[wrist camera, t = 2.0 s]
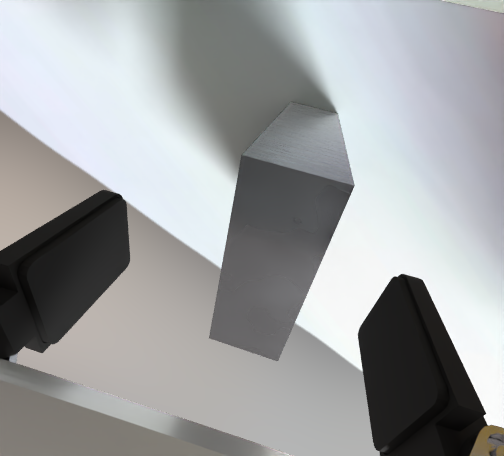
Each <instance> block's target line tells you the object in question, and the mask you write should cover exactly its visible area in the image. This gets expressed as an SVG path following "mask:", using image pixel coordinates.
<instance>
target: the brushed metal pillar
mask: <svg viewBox="0 0 504 456" xmlns="http://www.w3.org/2000/svg"><path fill="white" fill-rule="evenodd" d="M353 188H354V181H353V177H352V173H351V168H350V164H349V160H348V155H347V151H346V147H345V142H344V138H343V134H342V129H341V125H340V120H339V116H338V114H337V113H333V112H329V111H325V110H321V109H317V108H313V107H309V106H305V105H301V104H297V103H293V102H290V103H289V105H288V106H287V107H286V108H285V109H284V110H283V111H282V112H281V113H280V114H279V115H278V116H277V118H276V119H275V120H274V121H273V122H272V123H271V124H270V125H269V126H268V127H267V128H266V129H265V130H264V132H263V133H262V134H261V135H260V136H259V137H258V138H257V139H256V140H255V141H254V142H253V143H252V144H251V146H250V147H249V148H248V149H247V150H246V151H245V152H244V153H243V154H242V157H241V162H240V168H239V173H238V179H237V185H236V190H235V196H234V201H233V207H232V213H231V218H230V224H229V229H228V235H227V241H226V246H225V252H224V257H223V263H222V269H221V274H220V280H219V285H218V291H217V297H216V302H215V308H214V313H213V319H212V325H211V330H210V336H209V338H211V339H214V340H217V341H219V342H222V343H225V344H228V345H231V346H234V347H237V348H240V349H243V350H246V351H249V352H252V353H255V354H258V355H261V356H264V357H267V358H269V359H272V360H276V361H278V360H279V357H280V355H281V353H282V351H283V348H284V346H285V344H286V341H287V339H288V337H289V335H290V332H291V330H292V328H293V325H294V323H295V321H296V319H297V316H298V314H299V312H300V309H301V307H302V305H303V302H304V300H305V298H306V296H307V293H308V291H309V289H310V286H311V284H312V282H313V280H314V277H315V275H316V273H317V270H318V268H319V266H320V264H321V261H322V259H323V257H324V254H325V252H326V250H327V247H328V245H329V243H330V241H331V238H332V236H333V234H334V231H335V229H336V227H337V225H338V222H339V220H340V218H341V215H342V213H343V211H344V209H345V206H346V204H347V202H348V199H349V197H350V195H351V192H352V190H353Z"/></svg>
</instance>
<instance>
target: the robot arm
mask: <svg viewBox="0 0 504 456" xmlns="http://www.w3.org/2000/svg"><path fill="white" fill-rule="evenodd" d="M129 262H130V251H129V235H128V221H127V205H126V201H125V200H123V198H122V196H121V195H120V194H117V193H114V192H110V191H106V190H102V191H99V192H98V193H96V194H94V195H93V196H91V197H89V198H88V199H86V200H84V201H83V202H81V203H79V204H78V205H76V206H75V207H73V208H71V209H69V210H68V211H66V212H64V213H63V214H61V215H60V216H58V217H56V218H54V219H53V220H51V221H49V222H48V223H46V224H44V225H43V226H41V227H39V228H38V229H36V230H35V231H33V232H31V233H29V234H28V235H26V236H24V237H23V238H21V239H19V240H18V241H17V242H14V243H13V244H11V245H10V246H8V247H6V248H5V249H3V250H1V251H0V456H292V455H290V454H287V453H284V452H281V451H278V450H275V449H272V448H269V447H266V446H264V445H261V444H258V443H255V442H252V441H249V440H246V439H243V438H240V437H237V436H234V435H231V434H228V433H225V432H222V431H219V430H216V429H213V428H210V427H207V426H204V425H201V424H198V423H195V422H192V421H189V420H186V419H183V418H180V417H177V416H174V415H171V414H168V413H165V412H162V411H159V410H156V409H153V408H150V407H147V406H144V405H141V404H138V403H135V402H132V401H129V400H126V399H124V398H120V397H117V396H114V395H111V394H108V393H105V392H102V391H99V390H96V389H93V388H90V387H87V386H84V385H81V384H78V383H75V382H72V381H69V380H66V379H63V378H60V377H56V376H54V375H51V374H47V373H44V372H41V371H38V370H35V369H32V368H29V367H26V366H23V365H20V364H16V362H17V354H18V352H19V351H20V350H21V349H22V348H23V347H24V346H25V347H26V348H28V349H31V350H34V351H37V352H40V353H43V352H44V351H45V350H46V349H47V348H48V347H49V346H50V345H51V344H55V343H57V342H58V341H59V340H60V339H61V338H62V337H63V336H64V335H65V334H66V333H67V332H68V331H69V330H70V329H71V328H72V326H73V325H74V324H75V323H76V322H77V321H78V320H79V319H80V318H81V317H82V316H83V314H84V313H85V312H86V311H87V310H88V309H89V308H90V307H91V306H92V305H93V304H94V302H95V301H96V300H97V299H98V298H99V297H100V296H101V295H102V294H103V293H104V292H105V291H106V290H107V288H108V287H109V286H110V285H111V284H112V283H113V282H114V281H115V280H116V279H117V278H118V276H119V275H120V274H121V273H122V272H123V271H124V270H125V269H126V268H127V266H128V264H129ZM358 340H359V347H360V354H361V361H362V368H363V375H364V381H365V388H366V395H367V402H368V409H369V416H370V423H371V430H372V437H373V443H374V446H375V448H376V450H378V451H380V456H504V428H502V427H498V426H494V425H490V426H488V425H487V423H486V421H485V419H484V417H483V416H484V415H485V414H486V412H485V410H484V408H483V406H482V404H481V402H480V400H479V398H478V396H477V393H476V391H475V389H474V387H473V385H472V383H471V381H470V379H469V377H468V374H467V372H466V370H465V368H464V366H463V364H462V362H461V360H460V358H459V356H458V353H457V351H456V349H455V347H454V345H453V343H452V341H451V339H450V337H449V334H448V332H447V330H446V328H445V326H444V324H443V322H442V320H441V318H440V315H439V313H438V311H437V309H436V307H435V305H434V303H433V301H432V299H431V296H430V294H429V292H428V290H427V288H426V286H425V284H424V282H423V280H421V279H419V278H416V277H412V276H408V275H405V274H401V275H399V276H398V277H393V278H392V279H391V281H390V282H389V284H388V285H387V287H386V288H385V290H384V291H383V293H382V294H381V296H380V297H379V299H378V300H377V302H376V304H375V305H374V307H373V308H372V310H371V311H370V313H369V314H368V316H367V317H366V319H365V320H364V322H363V323H362V325H361V327H360V329H359V332H358Z"/></svg>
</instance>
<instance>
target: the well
mask: <svg viewBox="0 0 504 456" xmlns="http://www.w3.org/2000/svg"><path fill="white" fill-rule="evenodd" d="M441 1H446V2H451V3H456V4H461V5H466V6H470V7H475V8H480V9H485V10H490V11H495V12H500V13H504V0H441Z"/></svg>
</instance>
